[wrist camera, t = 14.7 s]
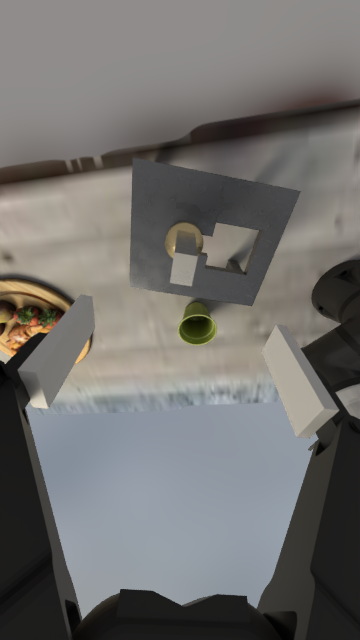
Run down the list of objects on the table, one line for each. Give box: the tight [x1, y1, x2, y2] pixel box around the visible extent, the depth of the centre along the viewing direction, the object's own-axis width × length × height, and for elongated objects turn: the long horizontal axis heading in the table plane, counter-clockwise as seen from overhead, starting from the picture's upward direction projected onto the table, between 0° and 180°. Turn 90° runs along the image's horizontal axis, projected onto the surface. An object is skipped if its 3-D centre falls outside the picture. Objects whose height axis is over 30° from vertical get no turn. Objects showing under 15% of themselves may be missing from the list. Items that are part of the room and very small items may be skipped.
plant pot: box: [178, 302, 217, 345], centre depth 55 cm, size 9×9×9 cm
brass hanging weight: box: [165, 222, 203, 286], centre depth 31 cm, size 6×6×20 cm
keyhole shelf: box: [129, 158, 301, 306], centre depth 39 cm, size 22×18×16 cm
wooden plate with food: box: [0, 278, 91, 364], centre depth 60 cm, size 32×32×8 cm
